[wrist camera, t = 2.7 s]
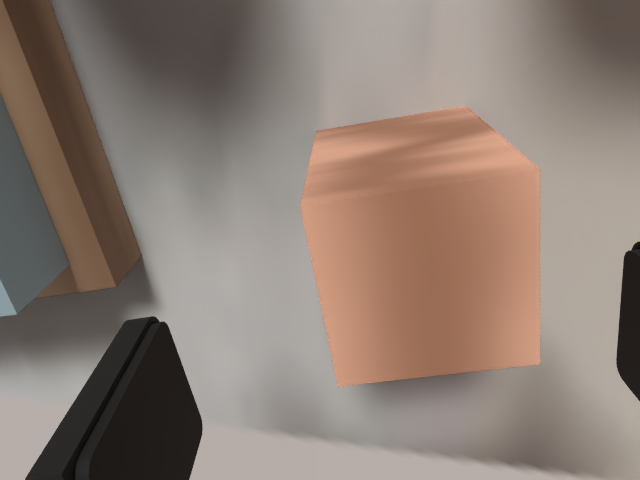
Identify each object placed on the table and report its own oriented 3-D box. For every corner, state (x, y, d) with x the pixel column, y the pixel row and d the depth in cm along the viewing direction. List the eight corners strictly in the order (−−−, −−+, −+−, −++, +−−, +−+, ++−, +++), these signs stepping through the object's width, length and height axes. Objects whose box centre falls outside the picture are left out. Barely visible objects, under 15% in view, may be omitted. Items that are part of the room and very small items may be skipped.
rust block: (465, 105, 17) (540, 169, 10) (473, 241, 19) (539, 364, 12) (316, 130, 17) (299, 206, 11) (339, 260, 19) (338, 386, 13)
